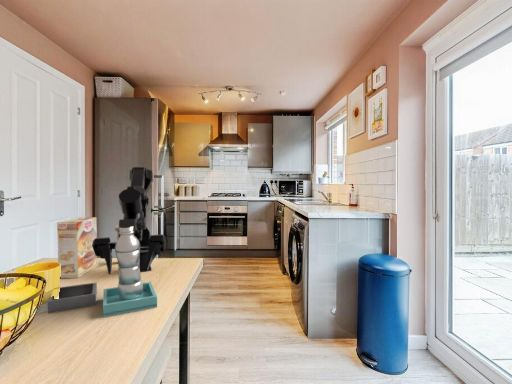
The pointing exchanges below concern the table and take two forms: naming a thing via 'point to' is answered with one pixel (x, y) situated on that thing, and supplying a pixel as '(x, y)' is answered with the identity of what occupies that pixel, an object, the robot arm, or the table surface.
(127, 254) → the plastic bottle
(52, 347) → the table surface
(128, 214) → the robot arm
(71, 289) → the open frame
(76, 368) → the table surface
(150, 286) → the tray
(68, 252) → the coffeecake box
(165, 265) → the table surface
